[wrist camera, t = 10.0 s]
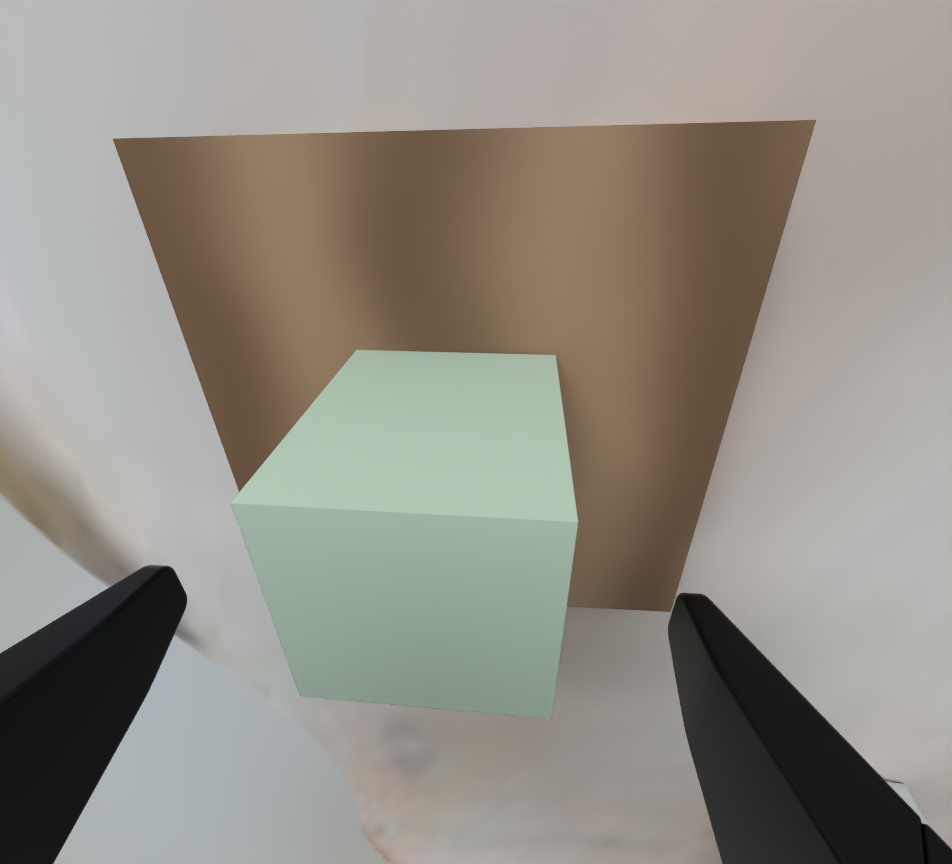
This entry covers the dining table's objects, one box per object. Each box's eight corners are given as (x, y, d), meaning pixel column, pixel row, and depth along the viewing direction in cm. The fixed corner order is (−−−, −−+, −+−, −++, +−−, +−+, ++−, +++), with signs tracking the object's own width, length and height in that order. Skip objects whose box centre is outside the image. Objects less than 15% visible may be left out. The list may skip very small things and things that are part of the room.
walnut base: (734, 125, 12) (816, 120, 9) (644, 529, 20) (670, 611, 16) (217, 139, 13) (113, 138, 10) (315, 516, 21) (274, 591, 17)
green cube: (555, 355, 12) (578, 522, 6) (542, 511, 14) (551, 718, 9) (356, 349, 12) (230, 502, 7) (379, 502, 15) (299, 695, 10)
